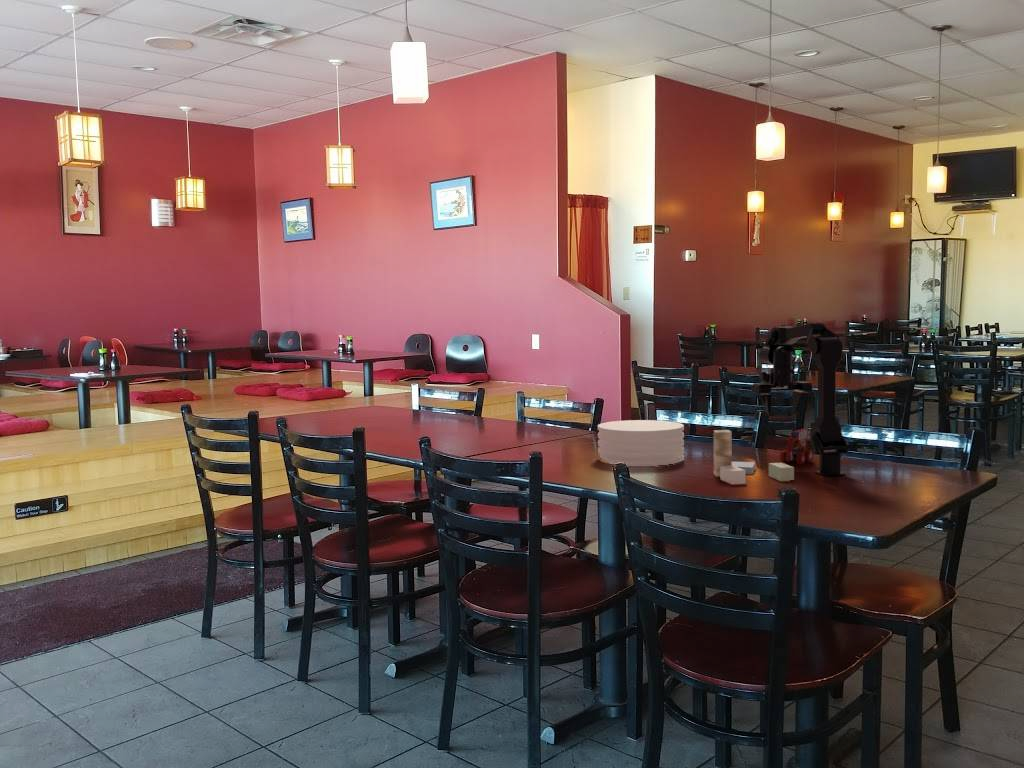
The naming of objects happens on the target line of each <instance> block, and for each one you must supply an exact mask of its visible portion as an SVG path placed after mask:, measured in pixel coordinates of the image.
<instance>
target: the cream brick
mask: <svg viewBox="0 0 1024 768" xmlns="http://www.w3.org/2000/svg"><path fill="white" fill-rule="evenodd" d="M719 477H720V480H721V481H723V482H726V483H727V484H730V485H732V486H733V485H746V474H745V470H743V469H741V468H738V467H736V466H720V476H719Z"/></svg>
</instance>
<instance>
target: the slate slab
mask: <svg viewBox="0 0 1024 768" xmlns="http://www.w3.org/2000/svg"><path fill="white" fill-rule="evenodd" d="M732 466H736V467H738V468H741V469H743V470H745V475H753V474H754V472H755V470H756V462H754V461H732Z"/></svg>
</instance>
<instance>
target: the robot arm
mask: <svg viewBox="0 0 1024 768" xmlns="http://www.w3.org/2000/svg"><path fill="white" fill-rule="evenodd" d="M815 336H816V338H815ZM801 339H806V346H807V347H808V348H809V350H810V351H811V358H812V359H811V360H812V361H813V363H814V364H815V365H816V367H817V417H816V419H815V420H814V421H811V422H810V424H809V427H810V433H809V437H810V444H811V450H812V452H813V455H819V467H818V468H819V469H818V470H814V473H815V474H818V475H820V474H821V475H820V476H823V475H824V477H829V476H828V475H837V476H844V475H843V474H845V475H846V473H845V472H843V471H841V462H842V461H841V456H842V454H848V452H849V449H850V447H849V445H848V444H847V441H846V440H845V437H844V435H843V433H842V425H841V424H840V423H839V421H838V419H837V418H836V398H837V397H836V391H837V390H836V389H837V385H836V384H837V383H836V382H837V381H836V380H837V378H836V377H837V375H836V373H837V367H838V365H839V363H840V362H841V361H842V359H843V358H842V357H843V350H844V344H843V342H842V340H841V339H840V338H839V336H838V335H837V334H836V333H835V332H833V331H832V330H831V329H829V328H827V327H826V325H825V324H824V323H822V322H819V321H817V322H807V323H804V324H800V325H795V326H793V325H792V326H791V325H790V326H772V328H771V330H770V332H769V334H768V336H767V339H766V340H765V343H764V346H763V347H762V348H761V349H760V351H759V354H758V356H759V359H760V361H761V362H763V363H765V364H771V365H772V368H771V369H770V373H767V371H761V372H759V374H758V381H759V382H756V383H755V382H754V383H753V384H752V385H751V393H754V394H755V395H757V396H759V398H760V399H761V401H762V403H763V406H764V409H765V411H766V414H767V416H770V415H771V409H772V401H773V400H772V399H773V398H772V397H773V394H772V393H771V391H774V392H775V391H791V393H792V395H793V396H792V397H793V398H792V404H793V405H792V412H793V414H797V412H798V410H799V408H800V407H801V405H802V402H803V401H804V399H805V398H806V396H807V395H810V393H809V392H813V390H814V386H813V383H812V382H809V381H804V380H802V381H798V380H797V381H792V380H793V378H792V377H793V375H792V374H794V373H795V369H793V353H795V352H796V350H795V348H794V347H793V346H792V345H793V344H796V343H797V342H798V341H799V340H801Z"/></svg>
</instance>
